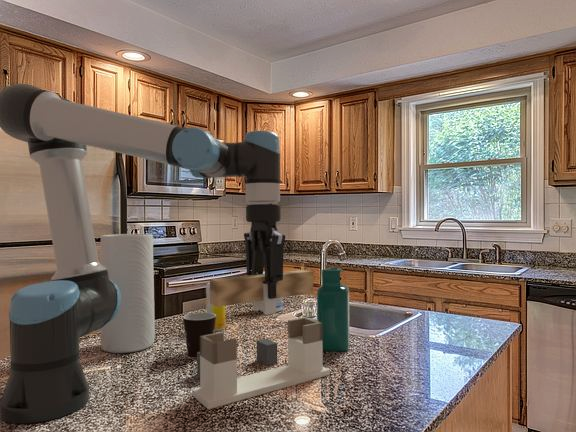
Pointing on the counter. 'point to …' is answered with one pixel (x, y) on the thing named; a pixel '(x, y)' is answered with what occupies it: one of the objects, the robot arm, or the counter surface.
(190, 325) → the coffee mug
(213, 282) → the oak rail
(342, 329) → the green square bottle
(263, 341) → the blocks
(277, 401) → the counter surface
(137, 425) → the counter surface
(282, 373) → the bracket stand
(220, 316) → the white yellow bottle
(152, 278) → the paper towel roll
